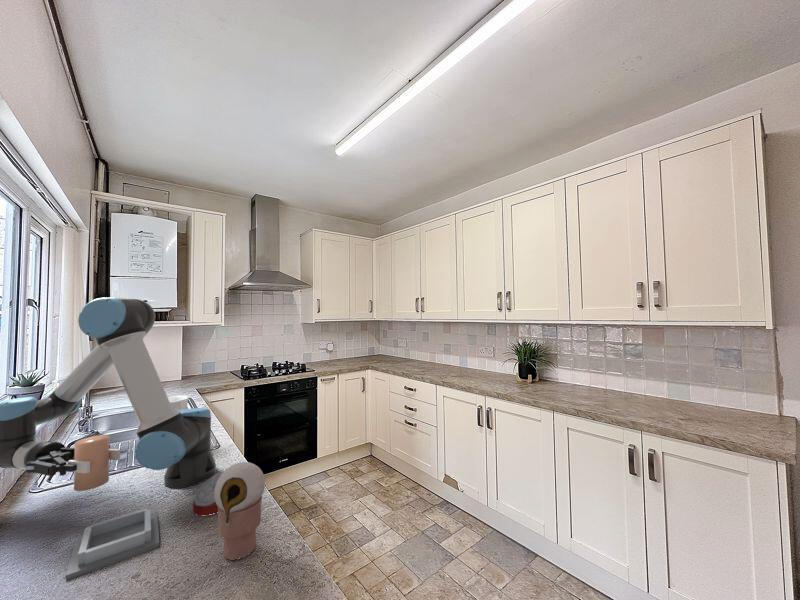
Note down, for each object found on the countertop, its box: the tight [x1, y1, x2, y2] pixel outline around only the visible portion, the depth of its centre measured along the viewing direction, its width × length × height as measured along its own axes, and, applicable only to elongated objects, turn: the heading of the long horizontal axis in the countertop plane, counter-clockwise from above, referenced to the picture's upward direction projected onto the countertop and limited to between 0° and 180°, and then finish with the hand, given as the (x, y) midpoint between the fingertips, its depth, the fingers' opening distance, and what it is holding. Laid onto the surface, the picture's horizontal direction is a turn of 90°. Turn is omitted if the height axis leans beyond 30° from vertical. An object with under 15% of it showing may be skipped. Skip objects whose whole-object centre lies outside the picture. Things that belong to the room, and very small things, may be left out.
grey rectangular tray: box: [65, 507, 160, 581], centre depth 81 cm, size 16×16×4 cm
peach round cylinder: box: [73, 434, 110, 492], centre depth 90 cm, size 7×7×12 cm
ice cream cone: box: [214, 461, 266, 561], centre depth 78 cm, size 11×11×20 cm
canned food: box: [192, 471, 224, 515], centre depth 96 cm, size 11×10×10 cm
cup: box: [167, 395, 189, 411], centre depth 136 cm, size 12×12×22 cm
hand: (104, 460), depth 90 cm, fingers closed on peach round cylinder, 7 cm apart
